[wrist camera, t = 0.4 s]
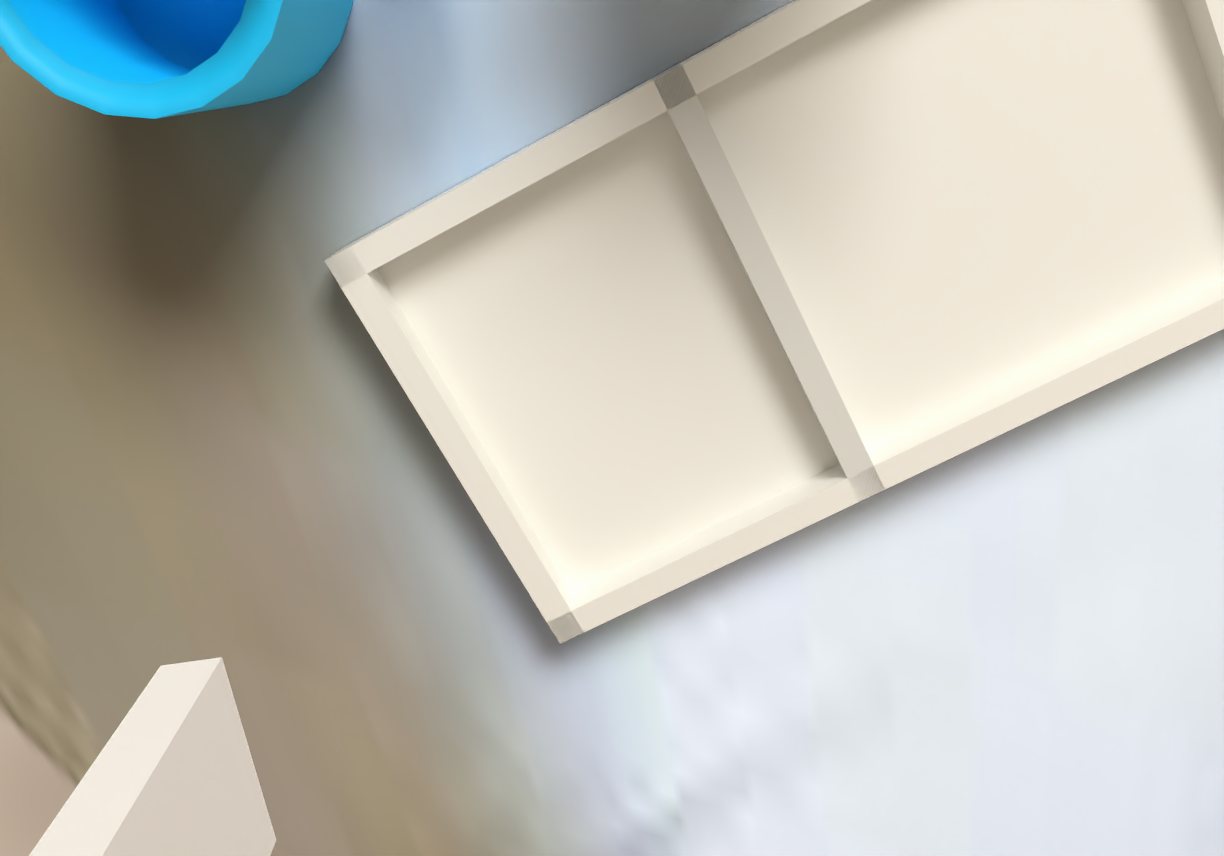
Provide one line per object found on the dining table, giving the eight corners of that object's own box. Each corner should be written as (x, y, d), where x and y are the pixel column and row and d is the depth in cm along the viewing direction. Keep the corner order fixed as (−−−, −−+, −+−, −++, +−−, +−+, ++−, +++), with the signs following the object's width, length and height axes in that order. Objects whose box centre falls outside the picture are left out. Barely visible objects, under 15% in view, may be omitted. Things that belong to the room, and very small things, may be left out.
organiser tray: (337, 250, 38) (324, 260, 36) (1144, -192, 34) (1177, -207, 32) (561, 617, 42) (560, 644, 40) (1292, 267, 38) (1329, 278, 36)
